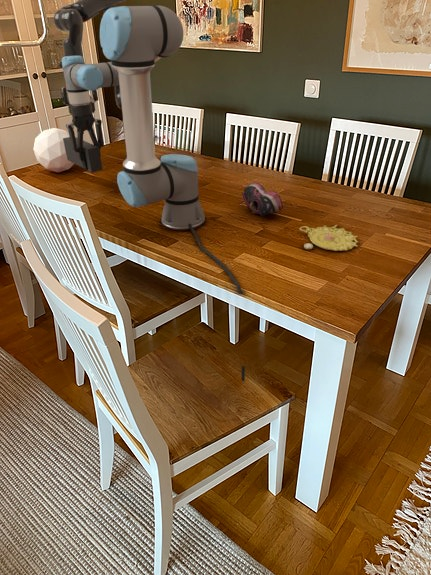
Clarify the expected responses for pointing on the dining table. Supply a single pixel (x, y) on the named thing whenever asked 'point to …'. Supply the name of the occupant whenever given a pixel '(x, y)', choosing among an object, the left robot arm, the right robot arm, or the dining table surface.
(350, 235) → the decorative object
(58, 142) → the sphere
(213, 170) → the dining table surface
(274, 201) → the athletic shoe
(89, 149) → the bar
